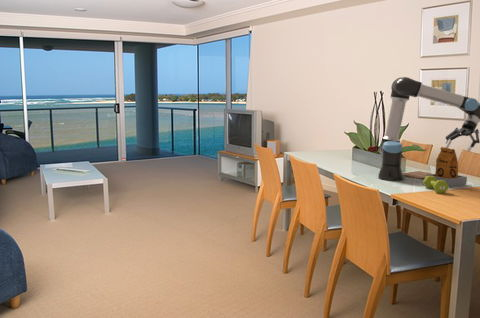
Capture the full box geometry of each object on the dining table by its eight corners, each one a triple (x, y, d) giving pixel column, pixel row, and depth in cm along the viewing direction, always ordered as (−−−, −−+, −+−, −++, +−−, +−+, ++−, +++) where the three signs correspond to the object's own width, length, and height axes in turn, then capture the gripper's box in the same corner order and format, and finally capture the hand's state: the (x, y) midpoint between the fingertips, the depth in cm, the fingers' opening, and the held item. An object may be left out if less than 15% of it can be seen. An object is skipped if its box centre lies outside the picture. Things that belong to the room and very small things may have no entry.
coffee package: (445, 186, 260) (448, 149, 257) (432, 182, 272) (434, 146, 269) (460, 185, 262) (463, 149, 259) (446, 181, 274) (449, 146, 271)
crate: (447, 187, 257) (448, 179, 256) (426, 182, 270) (426, 174, 269) (466, 185, 265) (466, 176, 264) (444, 180, 278) (445, 172, 277)
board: (420, 179, 280) (420, 178, 280) (398, 174, 296) (398, 173, 296) (441, 177, 289) (442, 175, 289) (419, 172, 305) (419, 171, 305)
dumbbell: (421, 187, 258) (422, 175, 257) (435, 187, 258) (436, 175, 257) (434, 193, 242) (435, 181, 240) (448, 193, 242) (449, 181, 241)
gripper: (493, 129, 269) (479, 155, 262) (452, 126, 288) (439, 151, 281) (490, 121, 265) (476, 147, 258) (449, 118, 284) (435, 143, 277)
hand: (457, 149), depth 270 cm, fingers open, 13 cm apart
